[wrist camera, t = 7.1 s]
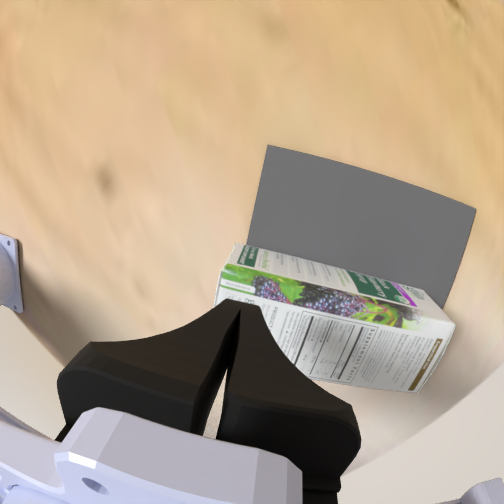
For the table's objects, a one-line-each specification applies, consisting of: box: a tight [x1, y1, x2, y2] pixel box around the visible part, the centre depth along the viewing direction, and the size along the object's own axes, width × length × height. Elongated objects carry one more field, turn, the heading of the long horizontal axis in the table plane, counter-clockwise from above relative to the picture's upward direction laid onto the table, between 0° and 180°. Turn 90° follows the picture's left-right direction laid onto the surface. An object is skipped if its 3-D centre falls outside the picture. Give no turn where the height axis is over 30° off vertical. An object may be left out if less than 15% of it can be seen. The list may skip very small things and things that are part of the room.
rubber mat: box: [246, 145, 476, 309], centre depth 21 cm, size 16×14×1 cm
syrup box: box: [213, 243, 456, 393], centre depth 19 cm, size 6×6×14 cm
